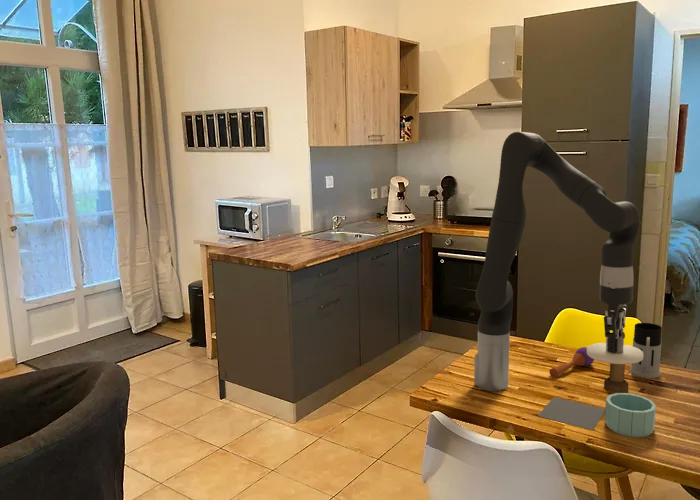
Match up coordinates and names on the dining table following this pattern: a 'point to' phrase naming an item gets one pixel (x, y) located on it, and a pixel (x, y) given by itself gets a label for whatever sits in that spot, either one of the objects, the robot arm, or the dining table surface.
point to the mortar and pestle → (616, 378)
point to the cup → (630, 414)
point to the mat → (572, 413)
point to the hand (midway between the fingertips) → (614, 349)
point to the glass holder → (647, 350)
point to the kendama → (573, 362)
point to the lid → (622, 356)
